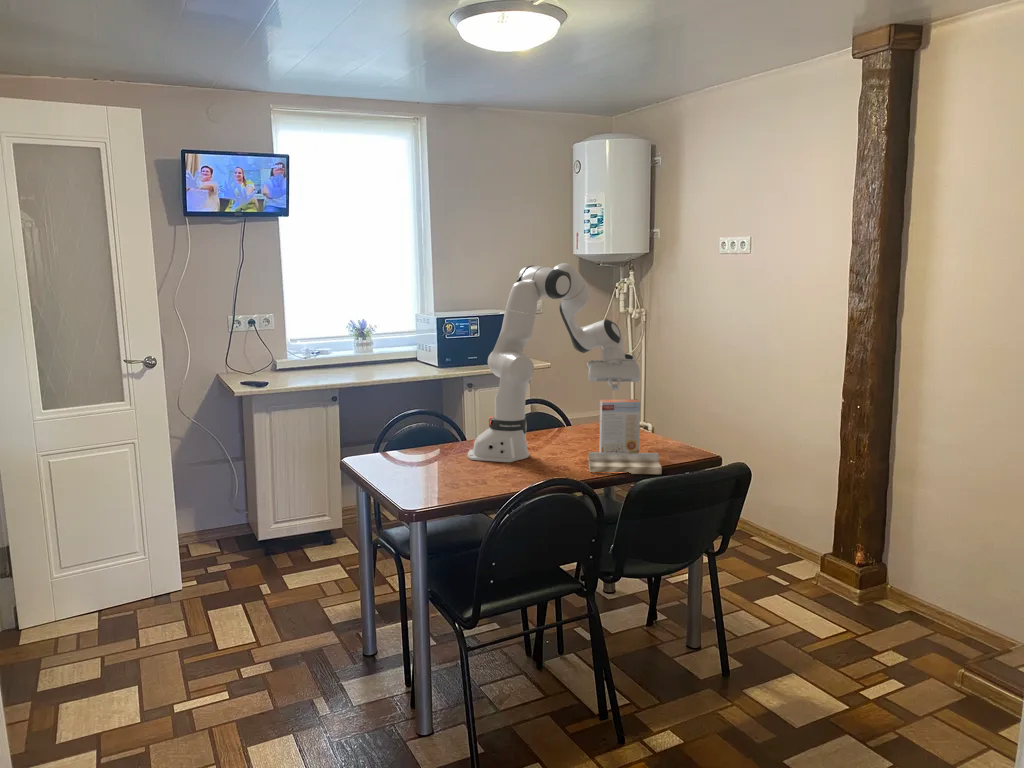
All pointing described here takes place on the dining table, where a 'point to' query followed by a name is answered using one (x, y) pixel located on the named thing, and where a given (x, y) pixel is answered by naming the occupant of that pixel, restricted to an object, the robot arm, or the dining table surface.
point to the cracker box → (619, 425)
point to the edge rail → (623, 456)
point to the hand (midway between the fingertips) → (614, 389)
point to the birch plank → (626, 467)
